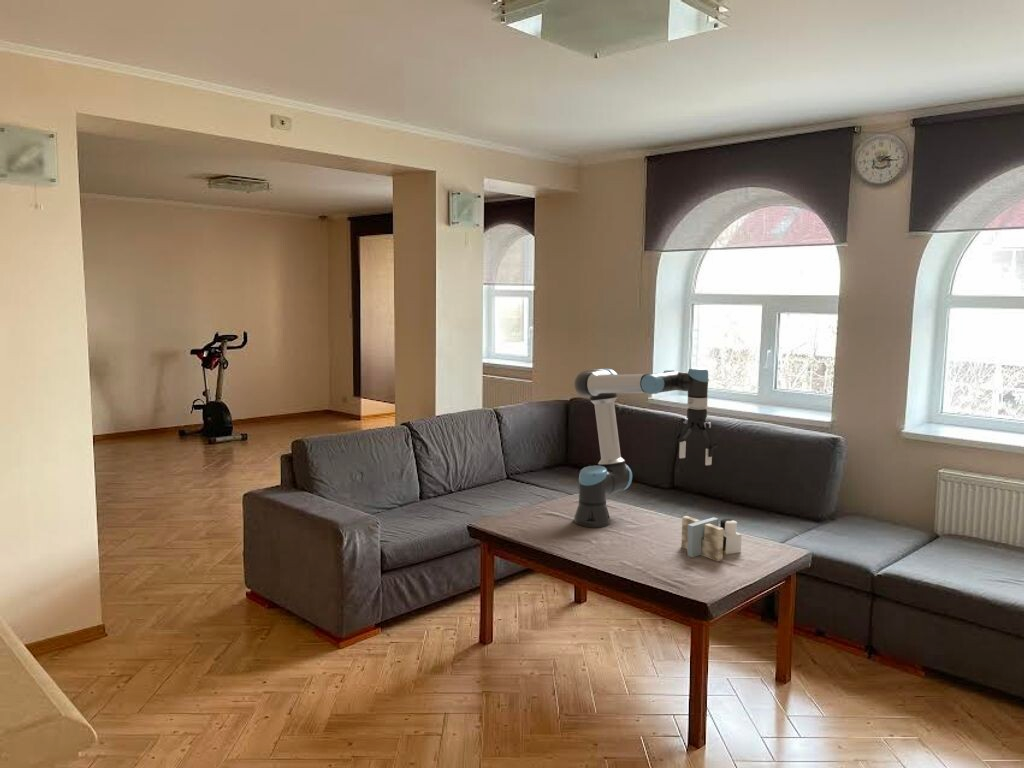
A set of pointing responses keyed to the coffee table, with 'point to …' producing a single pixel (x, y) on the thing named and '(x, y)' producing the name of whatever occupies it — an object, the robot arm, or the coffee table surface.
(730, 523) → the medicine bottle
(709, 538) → the standing plate
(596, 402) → the robot arm
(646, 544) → the coffee table surface
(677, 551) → the coffee table surface
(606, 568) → the coffee table surface
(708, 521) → the cross plate
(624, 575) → the coffee table surface
